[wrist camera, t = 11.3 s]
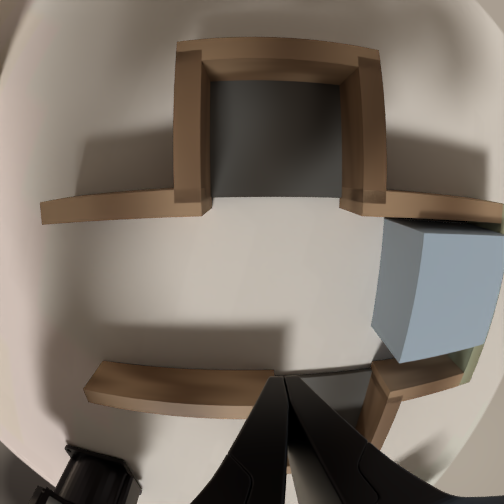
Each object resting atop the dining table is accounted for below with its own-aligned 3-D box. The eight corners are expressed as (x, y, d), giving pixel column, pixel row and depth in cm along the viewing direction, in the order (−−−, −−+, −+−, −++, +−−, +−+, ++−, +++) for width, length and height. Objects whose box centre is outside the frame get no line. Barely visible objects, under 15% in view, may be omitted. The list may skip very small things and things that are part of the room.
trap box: (129, 432, 17) (117, 460, 14) (76, 88, 12) (45, 75, 9) (423, 417, 17) (438, 441, 15) (476, 103, 12) (507, 97, 9)
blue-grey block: (369, 324, 15) (399, 363, 11) (382, 218, 14) (424, 233, 10) (448, 314, 15) (483, 343, 11) (464, 222, 14) (509, 236, 10)
